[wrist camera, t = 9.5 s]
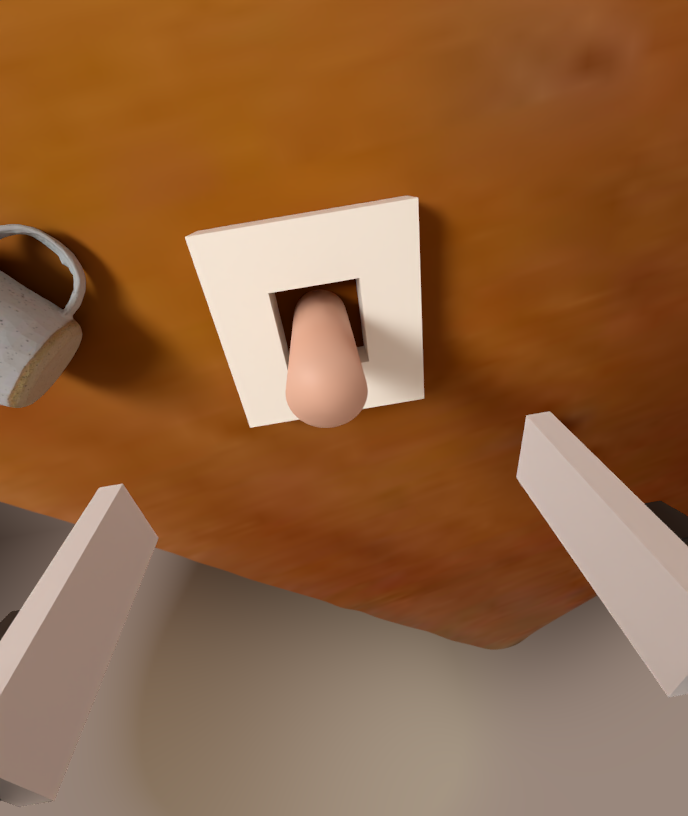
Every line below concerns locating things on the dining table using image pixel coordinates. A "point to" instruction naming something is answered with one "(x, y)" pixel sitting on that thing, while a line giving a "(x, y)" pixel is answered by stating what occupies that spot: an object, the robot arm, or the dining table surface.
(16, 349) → the ceramic mug
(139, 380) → the dining table surface
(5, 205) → the dining table surface
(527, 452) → the robot arm
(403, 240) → the socket block
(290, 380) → the peg
